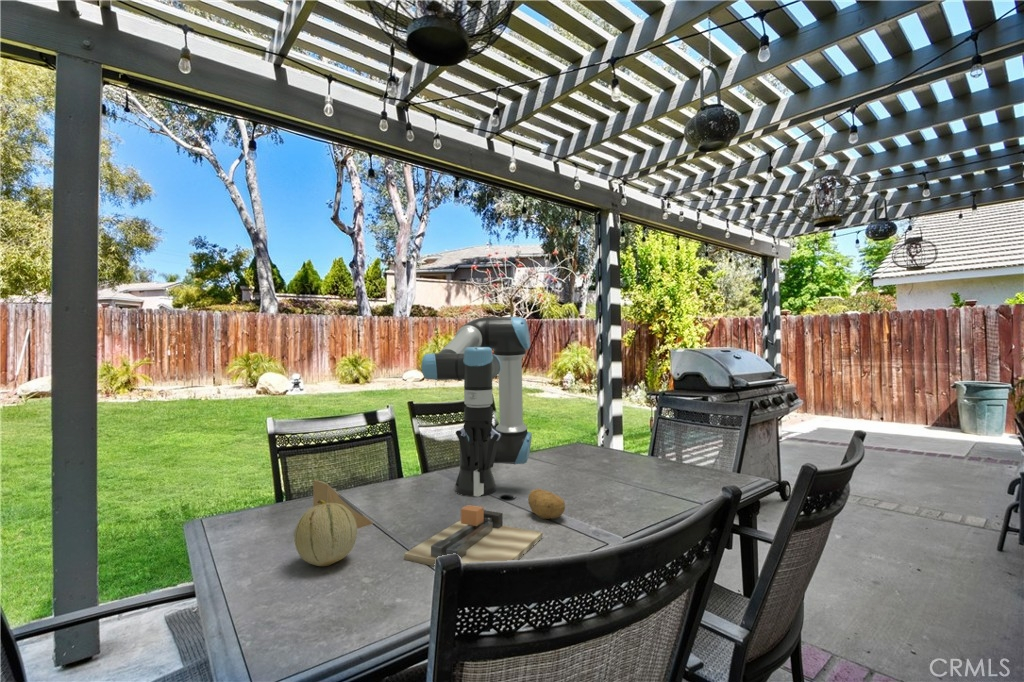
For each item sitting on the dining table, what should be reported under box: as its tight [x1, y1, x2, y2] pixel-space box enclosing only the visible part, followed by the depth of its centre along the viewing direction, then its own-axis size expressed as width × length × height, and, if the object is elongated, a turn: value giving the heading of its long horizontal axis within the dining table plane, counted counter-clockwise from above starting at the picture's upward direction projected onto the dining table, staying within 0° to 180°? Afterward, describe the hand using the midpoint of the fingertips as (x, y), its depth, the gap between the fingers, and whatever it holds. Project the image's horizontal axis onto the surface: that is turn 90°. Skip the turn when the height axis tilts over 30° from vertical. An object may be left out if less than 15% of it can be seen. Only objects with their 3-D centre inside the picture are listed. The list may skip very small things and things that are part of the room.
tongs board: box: [403, 509, 544, 567], centre depth 130 cm, size 28×26×5 cm
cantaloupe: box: [293, 500, 358, 567], centre depth 121 cm, size 15×15×15 cm
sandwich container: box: [312, 479, 374, 530], centre depth 146 cm, size 9×15×15 cm, turn 138°
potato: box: [528, 488, 566, 520], centre depth 154 cm, size 10×14×8 cm
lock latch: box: [460, 504, 485, 526], centre depth 138 cm, size 4×5×4 cm
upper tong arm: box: [446, 517, 493, 558], centre depth 130 cm, size 24×4×3 cm, turn 156°
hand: (478, 494), depth 129 cm, fingers closed
